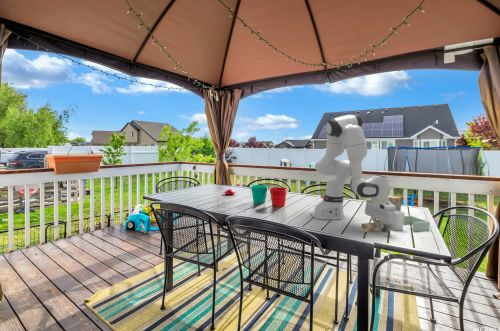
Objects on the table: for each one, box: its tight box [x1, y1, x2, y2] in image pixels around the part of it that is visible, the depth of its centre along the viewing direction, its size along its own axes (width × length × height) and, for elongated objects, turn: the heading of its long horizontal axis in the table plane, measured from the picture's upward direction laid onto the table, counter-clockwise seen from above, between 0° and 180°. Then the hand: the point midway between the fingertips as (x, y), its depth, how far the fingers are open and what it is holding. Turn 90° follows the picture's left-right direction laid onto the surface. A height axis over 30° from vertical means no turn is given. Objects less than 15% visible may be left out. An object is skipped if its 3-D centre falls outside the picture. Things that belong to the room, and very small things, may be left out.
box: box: [403, 215, 431, 232], centre depth 145 cm, size 11×13×5 cm
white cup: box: [390, 210, 406, 231], centre depth 143 cm, size 8×8×10 cm
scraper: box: [360, 219, 391, 233], centre depth 140 cm, size 14×9×4 cm, turn 102°
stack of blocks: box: [365, 195, 402, 211], centre depth 176 cm, size 21×6×12 cm, turn 81°
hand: (378, 226), depth 141 cm, fingers closed on scraper, 3 cm apart
